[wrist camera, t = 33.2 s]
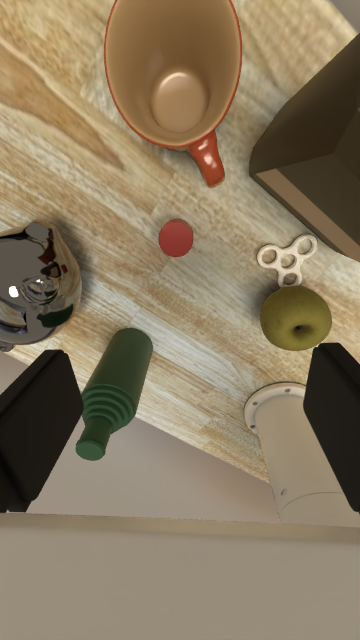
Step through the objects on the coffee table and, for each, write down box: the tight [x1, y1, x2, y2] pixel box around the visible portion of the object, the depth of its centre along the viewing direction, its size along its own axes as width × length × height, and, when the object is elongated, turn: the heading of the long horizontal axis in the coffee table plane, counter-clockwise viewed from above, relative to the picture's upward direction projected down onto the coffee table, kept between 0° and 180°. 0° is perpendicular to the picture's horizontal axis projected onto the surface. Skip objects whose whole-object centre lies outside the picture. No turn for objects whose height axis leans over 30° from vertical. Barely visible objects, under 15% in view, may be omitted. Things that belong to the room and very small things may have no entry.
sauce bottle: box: [76, 328, 153, 461], centre depth 31 cm, size 6×6×18 cm
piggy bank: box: [0, 219, 82, 352], centre depth 28 cm, size 11×15×12 cm
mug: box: [104, 0, 242, 188], centre depth 21 cm, size 12×9×10 cm
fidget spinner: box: [257, 234, 318, 288], centre depth 31 cm, size 7×6×1 cm
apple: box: [260, 286, 332, 351], centre depth 31 cm, size 8×8×7 cm
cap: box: [159, 219, 193, 257], centre depth 29 cm, size 4×4×3 cm
